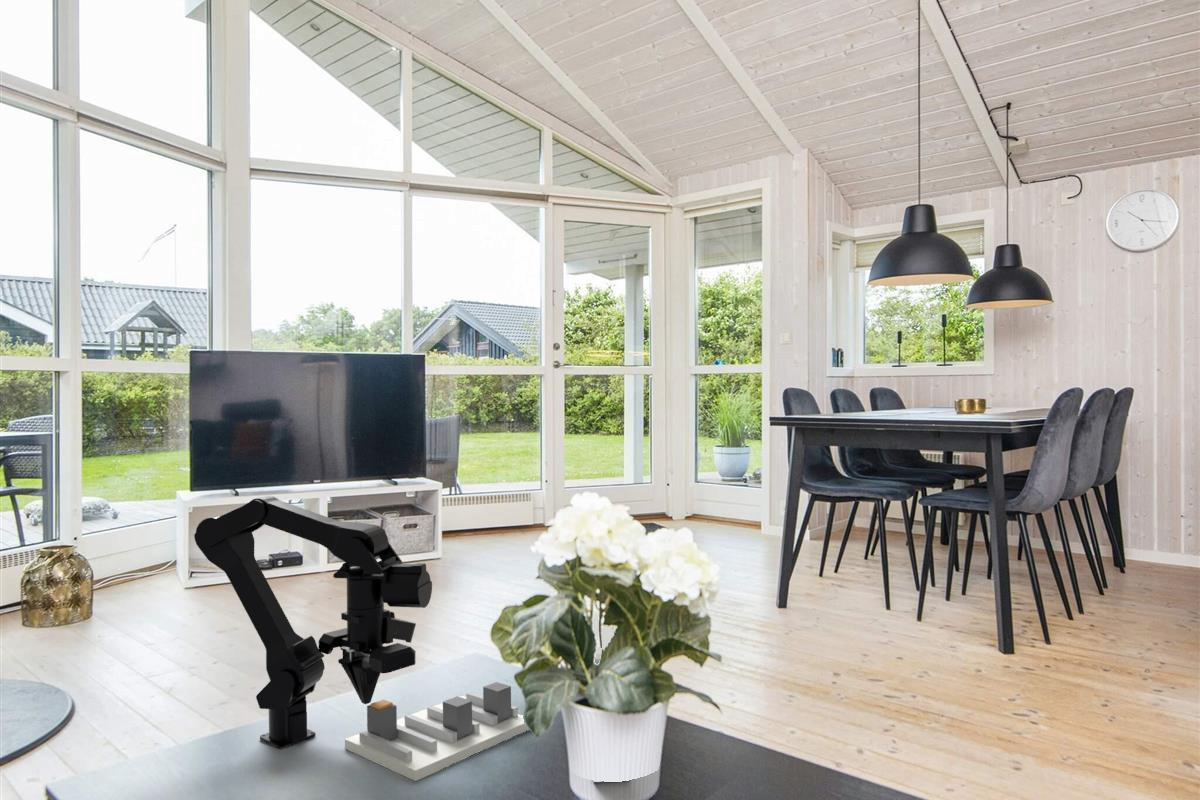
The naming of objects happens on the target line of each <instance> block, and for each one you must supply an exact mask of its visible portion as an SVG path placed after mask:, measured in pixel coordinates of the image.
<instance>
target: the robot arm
mask: <svg viewBox="0 0 1200 800" xmlns="http://www.w3.org/2000/svg"><path fill="white" fill-rule="evenodd" d="M264 526H268V527H271V528H274V529H276V530H280V531H282V532H285V533H287V534H291V535H293V536H296V537H299V538H302V539H303V540H307V541H310V542H311V543H312V542H313V543H316V544H318V545H321V546H322V547H324V548H326V549H327V550H328V551H329V552H330V553H331V554H332V555H333V556H334V557H336V558H337V559H339V560H341V561H343V563H342V565H341V567H340V568H339V569H338V570H337V571H336V572H335V573H333V575H332V577H333V578H334V579H346V611H344V612H341V614H340V617H341V620H343V621H346V627H344V628H341V629H335V630H333V631H329V632H324V633H323V634H322V635H321V636H320V637H319V639H318V645H317V641H316V639H315V638H314V637H313V636H312V635H310V636H308V637H306V638H303V637H302V636H301V635H299V634H297V633H296V632H295V630H294V628H293V627H292V625H291V623H290V621H289V619H288V617H287V616H286V614H285V611H284V610H283V608H282V606H281V604H280V603H279V601H278V599H277V597H276V595H275V594H274V592H273V590H272V588H271V586H270V584H269V582H268V580H267V578H266V576H265V575H264V573H263V571H262V569H261V567H260V566H259V563H258V562H257V559H256V557H255V536H254V535H253V533H254V532H256V531H257V530H260V528H262V527H264ZM193 537H194V538H193V539H194V542H195V545H196V546H197V548H198V549H199V550H200V551H201V553H202V554H203V556H205V558H206V559H207V561H209V562H210V563H211V564H213V565H214V566H216V567H218V569H220V570H222V571H223V572H224V573H225V575H226V577H227V579H228V580H229V582H230V584H231V586H232V588H233V590H234V592H235V593H236V595H237V597H238V599H239V601H240V603H241V605H242V606H243V608H244V610H245V612H246V614H247V616H248V617H249V619H250V622H251V624H252V625H253V627H254V629H255V631H256V634H258V637H259V638H260V640H261V642H262V644H263V646H264V649H265V663H266V664H265V669H266V672H267V675H268V678H269V681H268V683H267V684H266V685H265V686H264V687H263V688H262V689H261V690H260V691H259V692H258V693H257V694H256V696H255V698H256V701H257V704H258V708H259V709H261V710H268V732H267V733H263V734H261V735H259V739H260V740H261V741H263V742H265V743H267V744H270V745H271V746H273V747H275V748H276V749H282V748H286V747H289V746H291V745H295V744H297V743H299V742H303V741H305V740H308V739H311V738H314V737H316V735H317V734H316V731H313V730H311V729H309V728H308V713H307V712H308V711H307V708H308V707H307V704H308V703H307V697H306V696H308V695H309V694H311V693H313V692H314V691H315V688H316V685H317V683H319V682H320V680H321V678H322V677H323V674H324V670H325V668H326V667H325V662H324V660H323V658H324V657H325V655H329V654H331V653H332V652H333V650H334V649H335V648H336V649H337V648H340V650H341V651H342V658H339V659H338V661H337V662H338V664H340V665H341V668H343V670H344V672H345V674H346V675H347V676H348V677H347V678H348V679H349V680H350V683H351V684H352V686H353V688H354V690H355V692H356V694H357V696H358V698H359V700H360V702H361V703H362V704H363V705H368V704H371V702H372V699H373V696H374V693H375V689H376V687H377V683H378V680H379V678H380V675H381V674H389V673H392V672H395V671H399V670H402V669H405V668H409V667H412V666H415V665H416V663H417V662H416V650H415V649H414V648H413V647H412V646H409V645H406V644H402V643H399V642H397V643H394V639H395V640H399V641H405V642H406V643H412V639H413V637H414V633H415V629H416V623H415V622H411V621H408V620H404V619H400V618H399V619H398V618H396V615H395V614H396V613H395V612H394V611H391V610H389V609H385V604H386V605H387V606H388V607H393V608H395V607H396V608H419V609H421V608H424V609H425V608H426V607H428V605H429V604H430V602H431V597H432V592H433V591H432V590H433V581H431V576H430V574H429V571H428V570H427V564H426V563H423V562H422V563H419V562H417V563H414V564H411V563H408V564H407V563H405V564H404V563H403V561H402V559H401V558H400V557H399V555H398V554H397V552H396V551H395V549H394V548H393V547H392V545H391V544H390V542H389V538H388V535H387V533H386V530H385V529H384V528H383V527H381V526H379V525H378V524H377V525H376V524H374V523H373V524H370V523H366V522H357V521H342V520H338V519H337V520H336V519H335V518H331V517H329V516H325V515H322V514H321V513H317V512H314V511H311V510H309V509H305V508H303V507H300V506H297V505H294V504H291V503H289V502H286V501H283V500H280V499H278V498H277V497H275V496H272V495H267V496H262V497H257V498H254V499H253V498H252V499H251V500H250V501H249V502H247V503H246V504H243V505H241V506H239V507H238V508H234V509H233V510H231V511H229V512H227V513H225V514H220V515H215V516H212V517H208V518H207V517H206V518H205V519H203V520H201V521H200V522H199V523H198V525H197V527H196V529H195V533H194V535H193ZM379 559H380V560H379ZM378 560H379V561H378ZM391 643H393V644H391ZM384 644H386V645H384ZM388 644H389V645H388Z"/></svg>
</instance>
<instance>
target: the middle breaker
mask: <svg viewBox="0 0 1200 800" xmlns="http://www.w3.org/2000/svg"><path fill="white" fill-rule="evenodd" d="M442 703H443V727H445V728H447V729H450V730H453V731H455V732H457V739H459V738H461V737H463V736H466V735H468V734H471V733H472V701H470V700H467V699H464V698H461V697H460V696H455V697H453V698H452V697H451V698H449V699H446V700H444V701H442Z"/></svg>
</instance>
